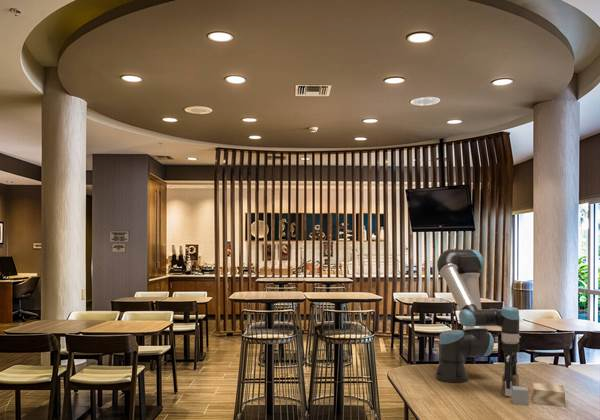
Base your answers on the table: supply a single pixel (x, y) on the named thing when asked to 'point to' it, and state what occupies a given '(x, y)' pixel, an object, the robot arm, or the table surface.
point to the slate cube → (520, 395)
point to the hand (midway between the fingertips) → (510, 393)
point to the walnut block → (514, 382)
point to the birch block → (548, 394)
